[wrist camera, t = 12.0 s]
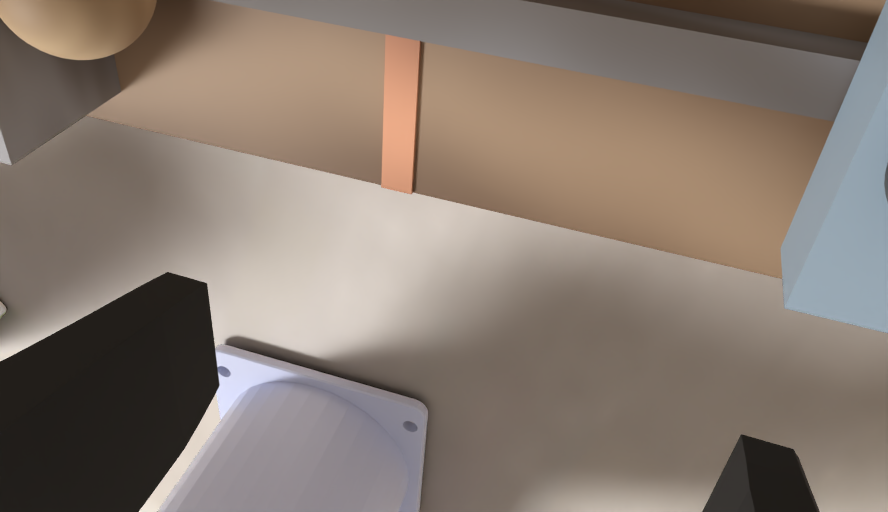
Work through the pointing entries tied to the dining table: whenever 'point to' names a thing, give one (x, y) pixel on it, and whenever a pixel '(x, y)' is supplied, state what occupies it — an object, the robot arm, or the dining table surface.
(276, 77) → the press bench
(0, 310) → the syrup box
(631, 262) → the dining table surface
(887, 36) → the handle
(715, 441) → the dining table surface
